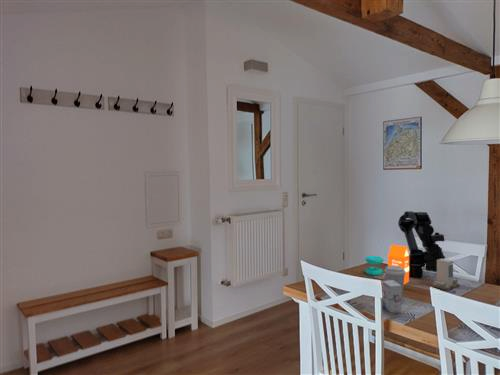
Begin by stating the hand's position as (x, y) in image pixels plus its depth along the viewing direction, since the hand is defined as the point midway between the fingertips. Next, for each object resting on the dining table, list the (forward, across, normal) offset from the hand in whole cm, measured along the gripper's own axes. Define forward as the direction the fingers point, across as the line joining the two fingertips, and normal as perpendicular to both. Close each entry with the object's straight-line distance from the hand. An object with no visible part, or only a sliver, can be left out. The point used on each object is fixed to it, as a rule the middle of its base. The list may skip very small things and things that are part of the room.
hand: (438, 260), depth 202 cm
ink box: (-1, -50, +30) cm, 58 cm away
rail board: (+12, -9, +4) cm, 15 cm away
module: (+10, -8, +4) cm, 14 cm away
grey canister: (0, -36, +28) cm, 46 cm away
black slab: (+12, +26, +4) cm, 28 cm away
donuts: (-5, +8, +35) cm, 36 cm away
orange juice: (+1, -4, +24) cm, 24 cm away
